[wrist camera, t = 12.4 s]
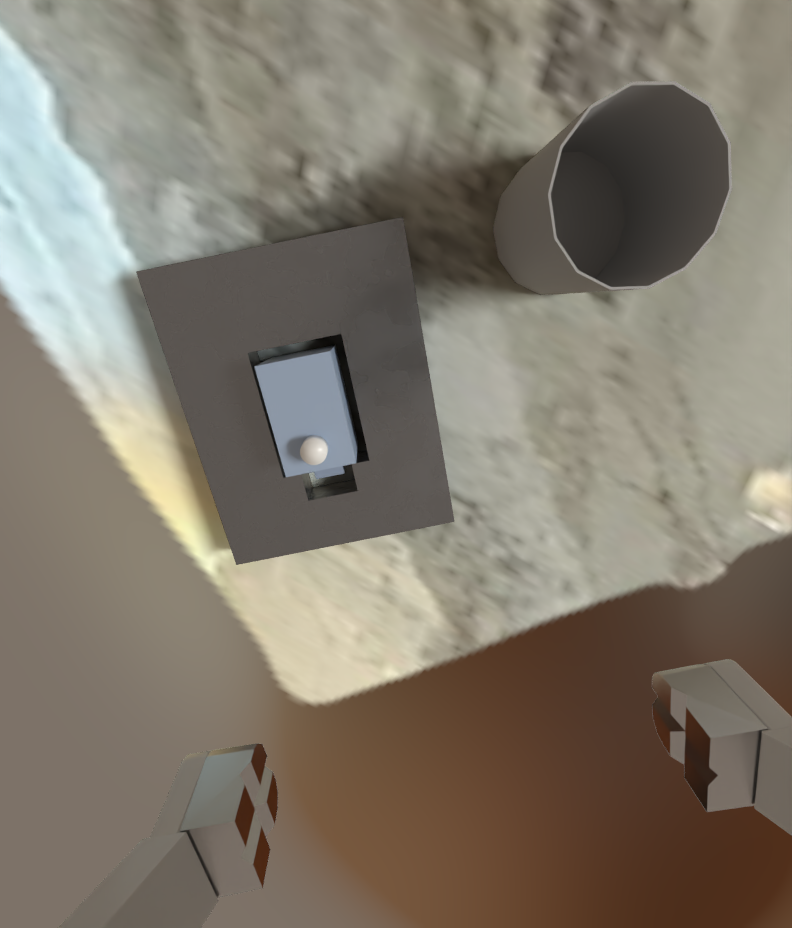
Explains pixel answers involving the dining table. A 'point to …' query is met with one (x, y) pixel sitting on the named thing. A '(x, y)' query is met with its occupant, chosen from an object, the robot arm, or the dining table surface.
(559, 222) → the cup
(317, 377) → the block
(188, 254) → the dining table surface
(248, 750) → the robot arm
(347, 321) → the frame
